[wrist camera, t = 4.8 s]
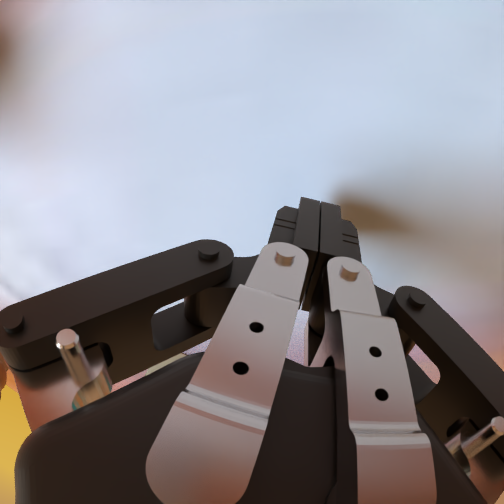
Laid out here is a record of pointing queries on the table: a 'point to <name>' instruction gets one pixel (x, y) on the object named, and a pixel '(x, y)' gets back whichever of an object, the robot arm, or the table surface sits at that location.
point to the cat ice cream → (2, 373)
